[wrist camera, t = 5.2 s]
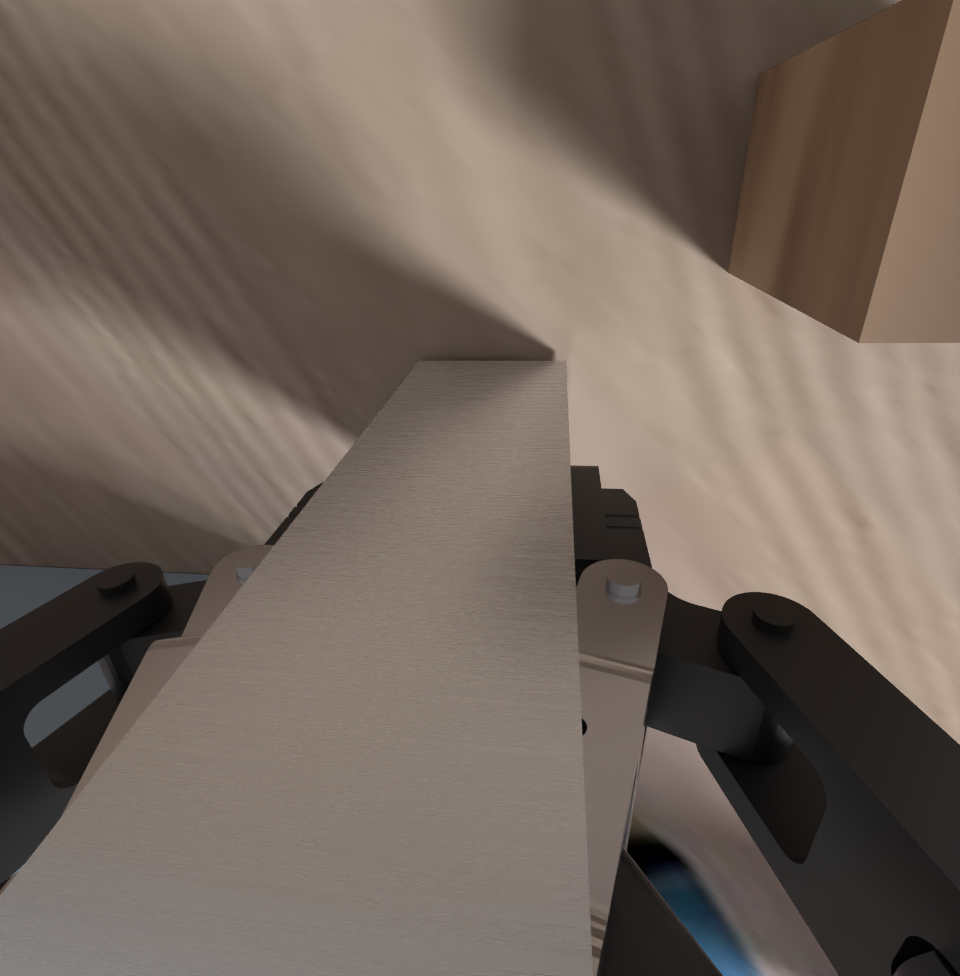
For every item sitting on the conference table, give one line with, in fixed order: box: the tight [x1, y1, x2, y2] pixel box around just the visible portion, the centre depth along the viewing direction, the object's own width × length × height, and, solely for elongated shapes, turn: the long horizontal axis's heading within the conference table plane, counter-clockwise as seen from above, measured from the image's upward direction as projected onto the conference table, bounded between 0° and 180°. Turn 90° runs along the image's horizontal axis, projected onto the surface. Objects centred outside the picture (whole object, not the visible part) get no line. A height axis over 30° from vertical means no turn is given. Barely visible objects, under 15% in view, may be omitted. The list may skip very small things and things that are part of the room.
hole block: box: [0, 565, 209, 876], centre depth 21 cm, size 16×16×8 cm
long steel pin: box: [0, 361, 593, 976], centre depth 10 cm, size 4×4×14 cm
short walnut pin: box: [728, 0, 960, 343], centre depth 10 cm, size 4×4×7 cm
